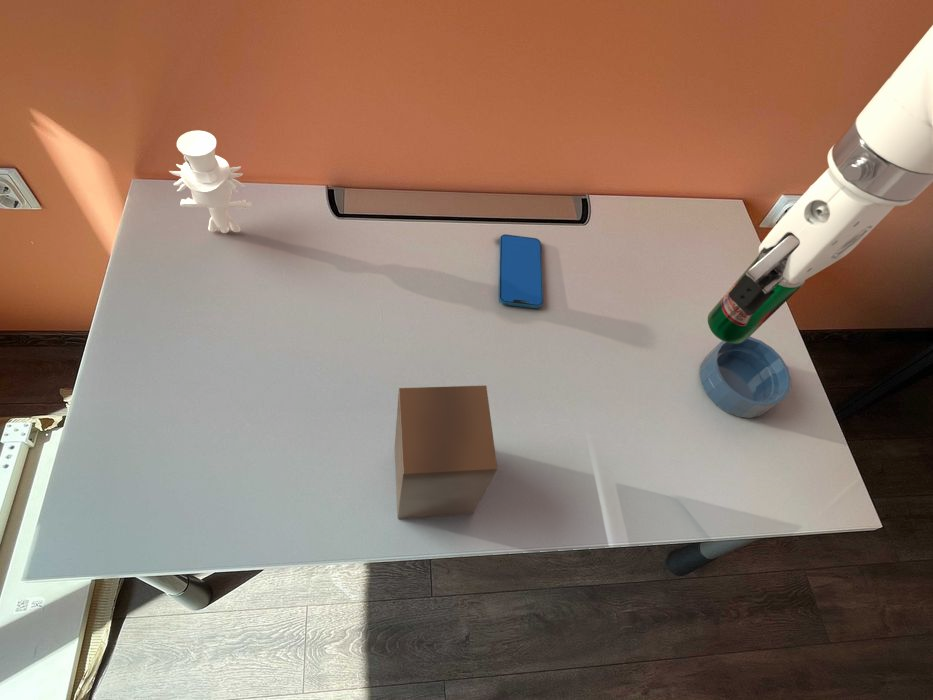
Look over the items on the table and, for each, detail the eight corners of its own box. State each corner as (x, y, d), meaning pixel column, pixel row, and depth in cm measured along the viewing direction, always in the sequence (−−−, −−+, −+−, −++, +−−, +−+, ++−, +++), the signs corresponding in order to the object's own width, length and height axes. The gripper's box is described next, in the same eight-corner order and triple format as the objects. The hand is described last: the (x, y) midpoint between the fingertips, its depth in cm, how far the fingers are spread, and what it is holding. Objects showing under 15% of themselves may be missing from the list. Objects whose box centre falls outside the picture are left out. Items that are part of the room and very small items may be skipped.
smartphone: (541, 238, 102) (543, 306, 94) (539, 242, 103) (542, 310, 95) (500, 233, 102) (499, 301, 94) (499, 237, 102) (498, 305, 94)
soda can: (697, 313, 68) (754, 245, 58) (733, 306, 69) (794, 239, 59) (718, 349, 66) (781, 285, 55) (754, 342, 67) (822, 277, 57)
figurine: (260, 215, 98) (239, 126, 82) (256, 250, 94) (233, 164, 78) (195, 213, 96) (160, 122, 81) (188, 249, 92) (150, 160, 77)
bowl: (786, 396, 93) (806, 382, 89) (737, 432, 89) (756, 419, 84) (732, 340, 98) (748, 323, 93) (683, 371, 93) (697, 356, 89)
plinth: (465, 442, 82) (486, 385, 66) (473, 513, 77) (497, 469, 61) (394, 446, 80) (398, 387, 65) (397, 519, 75) (403, 474, 60)
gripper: (860, 225, 42) (729, 353, 57) (978, 158, 48) (832, 290, 64) (783, 160, 45) (678, 298, 60) (904, 105, 51) (781, 243, 66)
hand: (758, 293), depth 62 cm, fingers closed on soda can, 5 cm apart
